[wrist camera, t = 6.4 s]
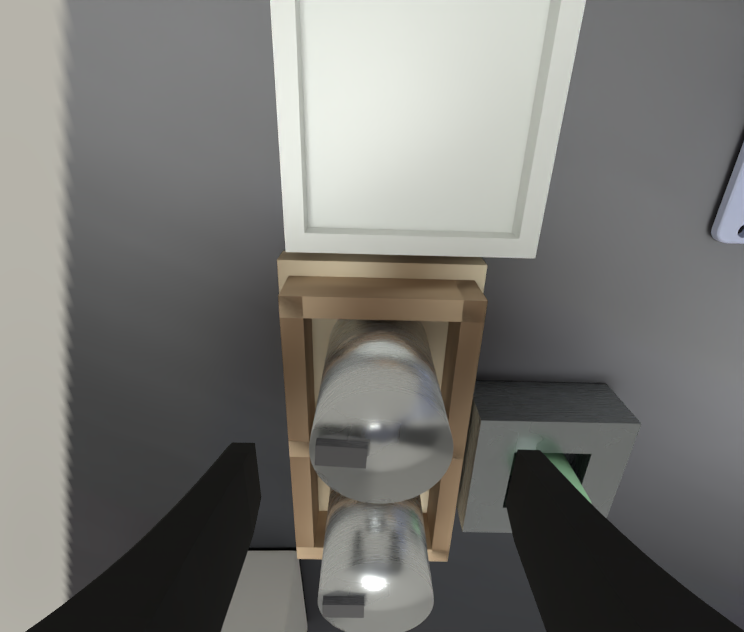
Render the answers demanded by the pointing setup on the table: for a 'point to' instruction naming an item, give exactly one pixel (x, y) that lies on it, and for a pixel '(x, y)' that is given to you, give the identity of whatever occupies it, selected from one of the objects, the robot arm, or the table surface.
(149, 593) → the robot arm
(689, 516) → the table surface
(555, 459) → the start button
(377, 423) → the cylinder
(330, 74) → the square tray
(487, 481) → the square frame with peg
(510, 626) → the table surface
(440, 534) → the wooden compartment tray
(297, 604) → the milk carton
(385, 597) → the cylinder
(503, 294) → the table surface
